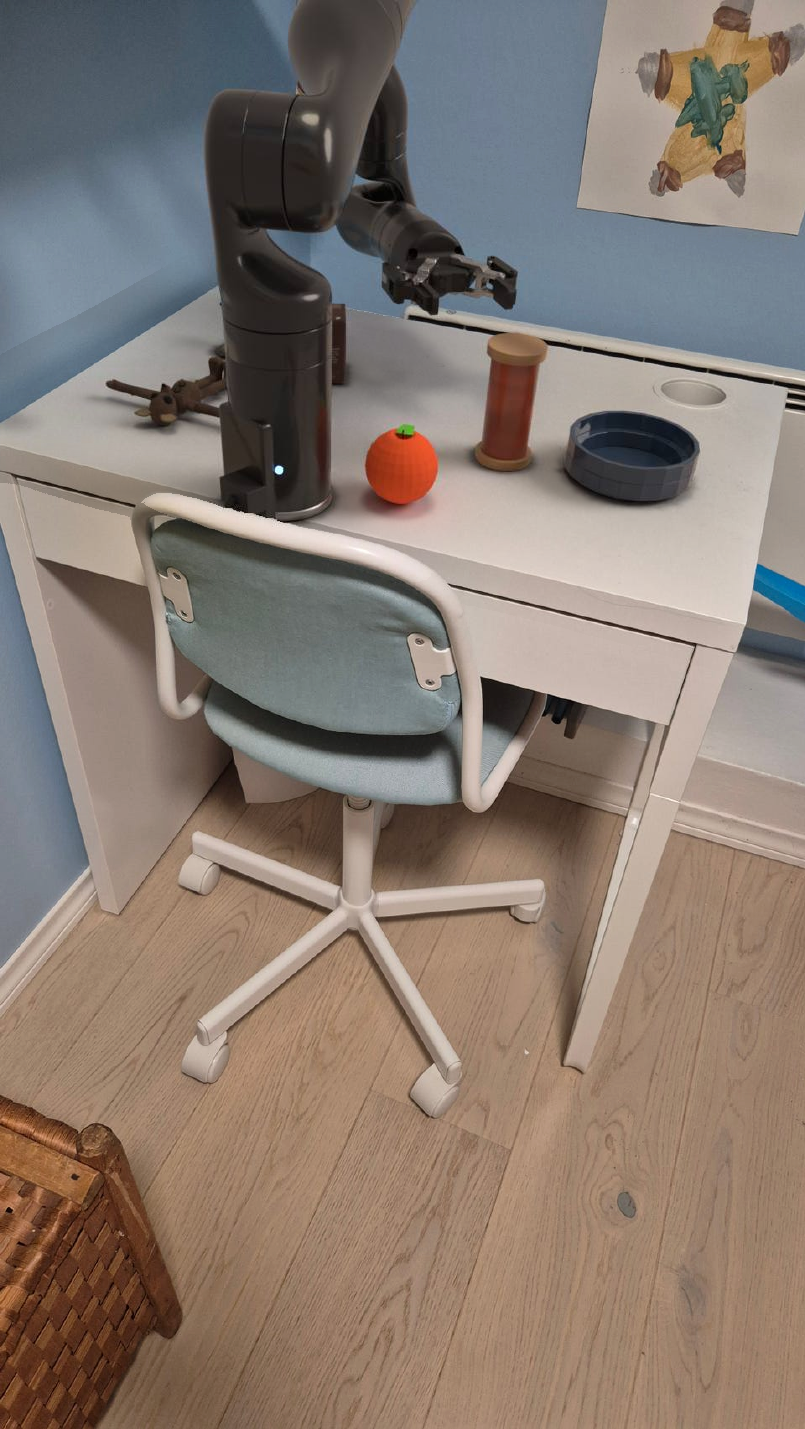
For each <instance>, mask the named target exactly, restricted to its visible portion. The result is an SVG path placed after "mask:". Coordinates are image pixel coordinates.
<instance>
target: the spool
mask: <svg viewBox="0 0 805 1429" xmlns="http://www.w3.org/2000/svg"><path fill="white" fill-rule="evenodd" d="M548 349H549V347H548V344H547V343H546V342H545V341H544V340H542V339H541V338H539V337H536V336H535V335H530V334H526V333H520V332H519V333H517V332H505V333H498V334H494V335H492V336H491V337H489V338H488V340H487V345H486V354H487V356H488V357H489V358H490V364H489V374H488V381H487V382H488V383H487V390H486V398H485V409H484V417H483V427H482V433H481V434H482V435H481V440H480V441H479V442H478V443H477V444H476V446H475V454H474V458H475V460H476V462H478V463H479V464H480V465H481V466H483V467H485V468H488V469H490V470H493V471H499V472H516V471H521V470H523V469H525V468H527V467H528V466H529V465H530V463H531V460H532V453H533V452H532V450H531V447H530V446H529V440H530V434H531V427H532V421H533V415H534V414H533V413H534V407H535V400H536V393H537V387H538V380H539V372H540V367H541V363H543V362H545V361H546V359H547V354H548Z"/></svg>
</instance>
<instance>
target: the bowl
mask: <svg viewBox="0 0 805 1429" xmlns="http://www.w3.org/2000/svg"><path fill="white" fill-rule="evenodd" d="M566 444H567V445H566V449H565V456H564V468H565V469H566V471H567V473H568V474H569V476H570V477H571V478H572V479H574V480H575V481H576V482H578V484H580V485H581V486H584V487H586V488H587V489H589V490H591V491H593V492H596V493H597V494H600V495H601V496H602V495H603V496H606V497H607V498H611V499H612V498H613V499H616V500H621V501H629V502H653V501H654V502H655V501H661V500H666V499H670V498H674V497H677V496H679V495H680V494H682V493H683V492H686V491H687V490H688V488H689V487H690V485H691V483H692V482H693V479H694V476H695V471H696V468H697V464H698V461H699V457H700V454H701V447H700V441H699V440H698V439H697V438H696V437H695V435H694V434H693V433H692V431H689V430H688V429H686V428H685V427H683V426H682V425H681V424H678V423H677V422H673V421H672V420H668V419H666V418H664V417H661V416H657V415H653V414H649V413H646V412H640V411H630V410H603V411H596V412H591V413H588V414H586V415H585V414H584V415H583V416H581V417H579V418H577V419H576V420H575V421H574V422H573V423H572V424H571V425H570V427H569V433H568V438H567V443H566Z"/></svg>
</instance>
